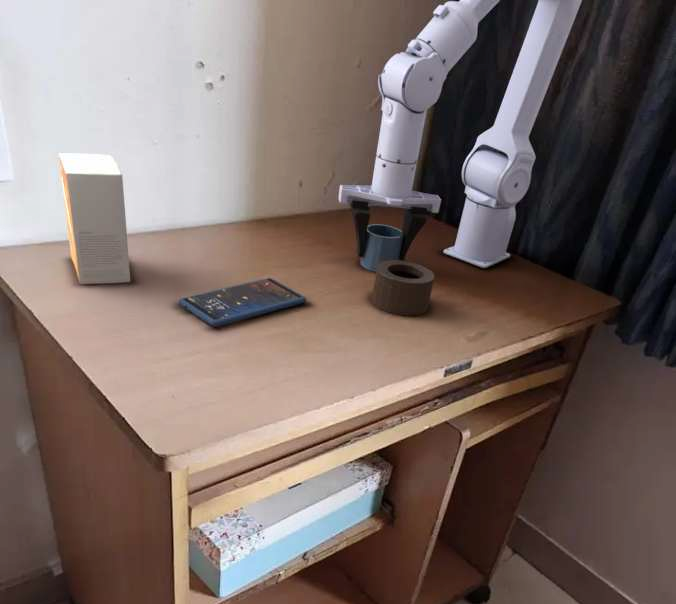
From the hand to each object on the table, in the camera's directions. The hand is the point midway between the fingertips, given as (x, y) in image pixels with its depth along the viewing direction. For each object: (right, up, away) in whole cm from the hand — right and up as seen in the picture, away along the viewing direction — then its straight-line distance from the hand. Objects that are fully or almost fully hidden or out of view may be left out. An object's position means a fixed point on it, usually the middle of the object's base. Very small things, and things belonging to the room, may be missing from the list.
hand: (379, 256), depth 100 cm
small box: (-37, -7, -14) cm, 40 cm away
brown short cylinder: (+2, -10, -9) cm, 13 cm away
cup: (0, -1, +1) cm, 1 cm away
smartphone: (-18, -12, -16) cm, 27 cm away
